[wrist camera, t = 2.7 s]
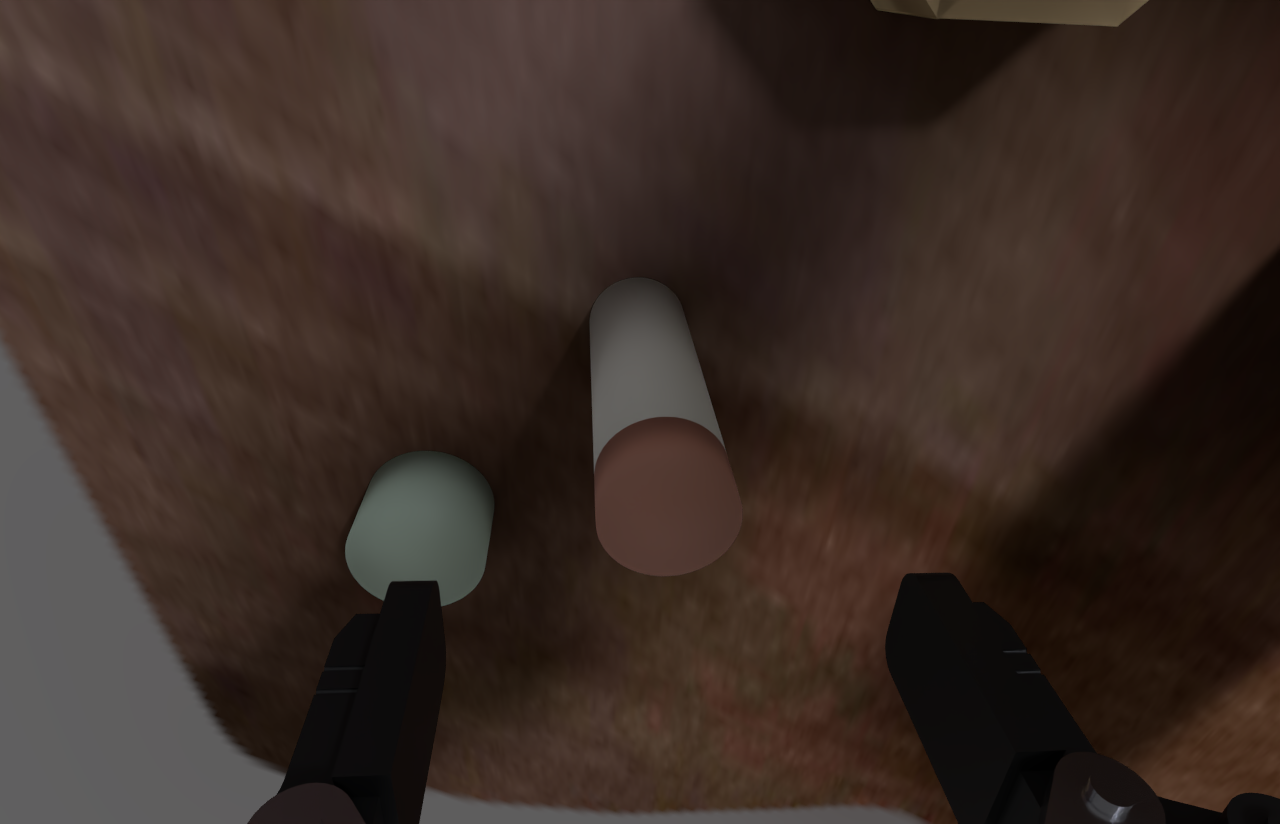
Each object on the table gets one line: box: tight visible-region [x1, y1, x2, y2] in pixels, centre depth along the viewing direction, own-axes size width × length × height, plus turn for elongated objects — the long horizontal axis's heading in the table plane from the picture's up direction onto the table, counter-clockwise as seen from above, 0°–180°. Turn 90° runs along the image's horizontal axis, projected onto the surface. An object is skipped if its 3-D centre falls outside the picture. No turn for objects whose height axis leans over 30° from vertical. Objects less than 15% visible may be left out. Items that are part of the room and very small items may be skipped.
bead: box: [345, 451, 495, 606], centre depth 26 cm, size 4×4×3 cm
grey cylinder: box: [589, 277, 743, 576], centre depth 20 cm, size 3×3×10 cm
